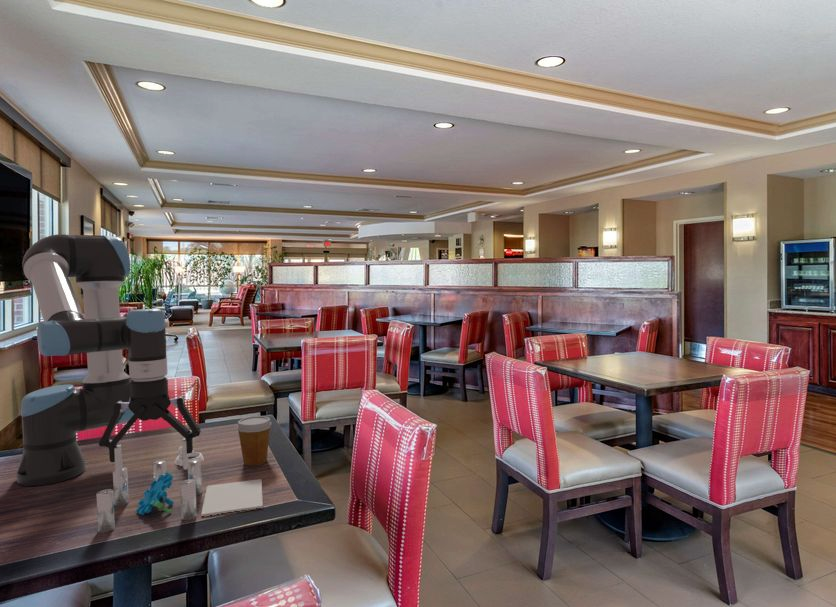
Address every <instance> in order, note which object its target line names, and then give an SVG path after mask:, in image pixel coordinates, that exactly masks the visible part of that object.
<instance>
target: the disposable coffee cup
mask: <svg viewBox="0 0 836 607" xmlns="http://www.w3.org/2000/svg"><path fill="white" fill-rule="evenodd" d="M271 426H272V421H271V418H270V417H268V416H263V415H262V416H259V415H258V416H257V415H256V416H249V417H244V418H241V419H240V420H238V421H237V425H236V429H237V431H238V437H239V443H240V449H241V455H242V461H243V465H245V466H247V467H248V466H249V467H252V466H253V467H254V466H255V465H256V466H261V465H263V464H265V463H267V460H268V450H269V442H270V440H269V439H270V431H271Z"/></svg>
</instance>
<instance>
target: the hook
mask: <svg viewBox="0 0 836 607" xmlns="http://www.w3.org/2000/svg"><path fill="white" fill-rule="evenodd" d="M189 431H190V432H192V431H191V429H189ZM194 439H195V437H194V438H193V441H194ZM177 452H178V454H179V455H178V456H177V457H176V458H175V461H174V465H175V464H176V465H175V466H177V465H179V466H178V467H183V446H182V445H181V446H179V447H178V449H177ZM195 459H199V460H201V463H202V462H203V461H204V459H205V458H204V456H203V454H202V453H201V452H199V451H198V452H197V451H195V449H194V447H193V450H192V453H188V461H190V460H195Z"/></svg>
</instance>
